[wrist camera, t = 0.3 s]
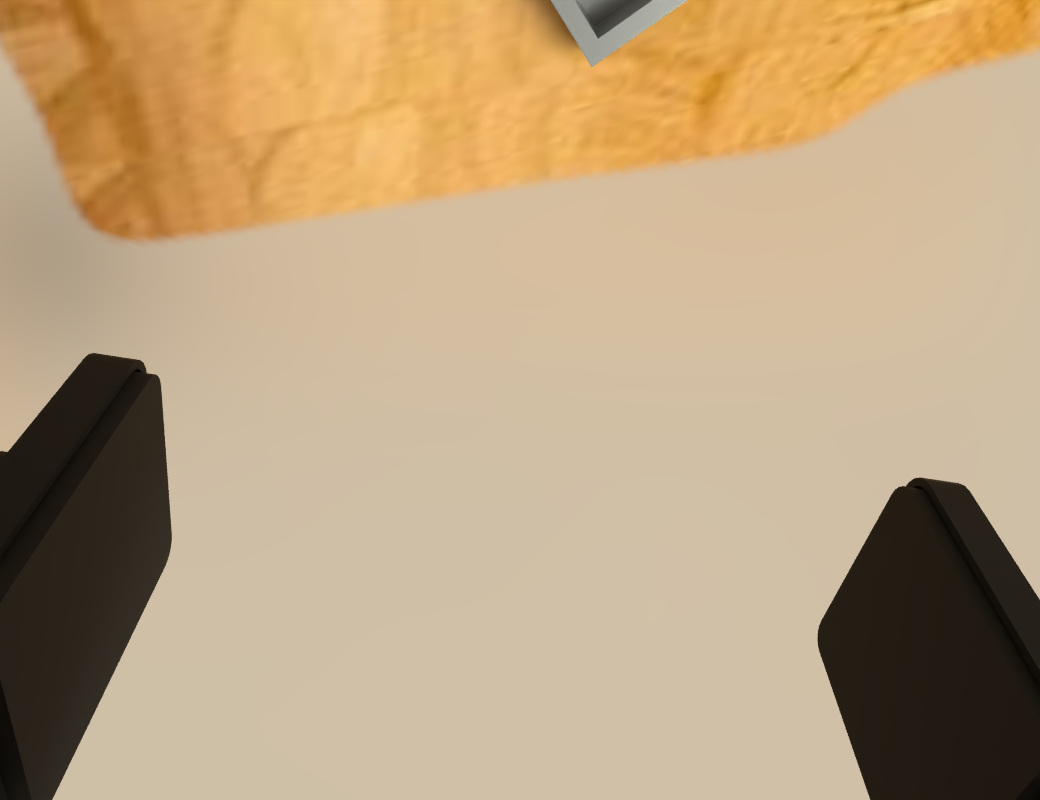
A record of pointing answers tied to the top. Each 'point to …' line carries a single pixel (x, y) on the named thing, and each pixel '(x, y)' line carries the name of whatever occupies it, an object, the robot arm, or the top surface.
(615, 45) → the bin
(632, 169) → the top surface
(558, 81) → the top surface
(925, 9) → the top surface
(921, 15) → the top surface
